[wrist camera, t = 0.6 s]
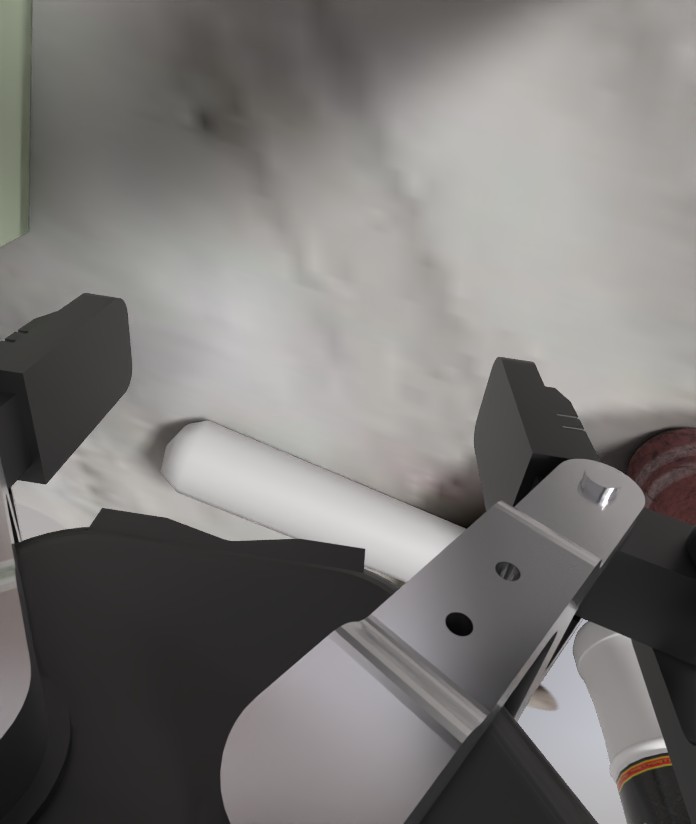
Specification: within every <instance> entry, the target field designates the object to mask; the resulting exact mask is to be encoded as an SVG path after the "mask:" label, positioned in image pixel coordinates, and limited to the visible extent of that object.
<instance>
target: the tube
mask: <svg viewBox="0 0 696 824" xmlns="http://www.w3.org/2000/svg"><path fill="white" fill-rule="evenodd" d="M160 473H161V474H162V475H163V476H164V477H165V478H166V480H167V481H168V482H169V483H170V484H171V485H172V487H173V488H174V489H175V490H176V491H177V492H178V493H181V494H183V495H186V496H188V497H191V498H193V499H196V500H198V501H201V502H203V503H206V504H209V505H211V506H214V507H216V508H219V509H221V510H224V511H226V512H229V513H231V514H234V515H236V516H239V517H241V518H244V519H246V520H249V521H252V522H254V523H257V524H259V525H262V526H264V527H267V528H269V529H272V530H274V531H277V532H279V533H282V534H284V535H287V536H290V537H292V538H295V539H305V540H312V541H318V542H325V543H331V544H338V545H344V546H351V547H357V548H363V549H365V561H364V566H365V567H368V568H370V569H373V570H376V571H378V572H381V573H383V574H386V575H388V576H391V577H393V578H396V579H398V580H401V581H403V582H408V581H409V580H410V579H411V578H412V577H413V576H414V575H415V574H417V573H418V572H419V571H420V570H421V569H422V568H423V567H424V566H426V565H427V564H428V563H429V562H430V561H431V560H432V559H433V558H435V557H436V556H437V555H438V554H439V553H440V552H441V551H442V550H444V549H445V548H446V547H447V546H448V545H449V544H450V543H451V542H453V541H454V540H455V539H456V538H457V537H458V536H459V535H461V534H462V533H463V532H464V531H465V530H466V528H463V527H461V526H458V525H456V524H454V523H451V522H449V521H447V520H444V519H442V518H439V517H437V516H435V515H432V514H430V513H427V512H425V511H423V510H420V509H418V508H416V507H413V506H411V505H408V504H406V503H404V502H401V501H399V500H397V499H394V498H392V497H389V496H387V495H385V494H382V493H380V492H377V491H375V490H373V489H370V488H368V487H366V486H363V485H361V484H358V483H356V482H354V481H351V480H349V479H347V478H344V477H342V476H339V475H337V474H335V473H332V472H330V471H327V470H325V469H323V468H320V467H318V466H316V465H313V464H311V463H308V462H306V461H304V460H301V459H299V458H297V457H294V456H292V455H289V454H287V453H285V452H282V451H280V450H277V449H275V448H273V447H270V446H268V445H266V444H263V443H261V442H258V441H256V440H254V439H251V438H249V437H247V436H244V435H242V434H239V433H237V432H235V431H232V430H230V429H227V428H225V427H223V426H220V425H218V424H216V423H213V422H211V421H208V420H207V421H202V422H196V423H191V424H188V425H186V426H184V427H183V428H182V430H181V431H180V432H179V433H178V434H177V435H176V436H175V437H174V438H173V439H172V440H171V441H170V442H169V444H168V445H167V446H166V450H165V454H164V459H163V463H162V468H161V472H160Z"/></svg>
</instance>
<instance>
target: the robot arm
mask: <svg viewBox="0 0 696 824" xmlns="http://www.w3.org/2000/svg"><path fill="white" fill-rule="evenodd" d="M131 375H132V357H131V346H130V335H129V324H128V313H127V307H126V304H125V302H124V301H123V300H122V299H121V298H115V297H108V296H102V295H95V294H89V293H84V294H82V295H80V296H79V297H78V298H76V299H75V300H73V301H72V302H70V303H69V304H68V305H66V306H65V307H63V308H62V309H60V310H59V311H57V312H54V313H51V314H48V315H45V316H42V317H39V318H36V319H34V320H32V321H31V322H29V323H28V324H26V325H25V326H23V327H22V328H20V329H19V330H18V332H14V333H13V334H12V335H10V336H9V337H7V338H6V339H5V341H1V342H0V824H598V823H597V821H596V820H595V819H594V818H593V816H592V815H591V814H590V813H589V811H588V810H587V809H586V808H585V806H584V805H583V804H582V803H581V802H580V800H579V799H578V798H577V797H576V795H575V794H574V793H573V792H572V790H571V789H570V788H569V786H568V785H567V784H566V783H565V781H564V780H563V779H562V778H561V776H560V775H559V774H558V773H557V771H556V770H555V769H554V768H553V766H552V765H551V764H550V763H549V762H548V760H547V759H546V758H545V756H544V755H543V754H542V753H541V752H540V750H539V749H538V748H537V747H536V745H535V744H534V743H533V742H532V740H531V739H530V738H529V737H528V735H527V734H526V733H525V732H524V730H523V729H522V728H521V727H520V725H519V724H518V723H517V721H518V719H519V718H520V716H521V714H522V713H523V711H524V709H525V707H526V706H527V704H528V702H529V701H530V699H531V697H532V696H533V694H534V692H535V691H536V689H537V688H538V686H539V685H540V683H541V682H542V680H543V679H544V677H545V676H546V674H547V673H548V671H549V670H550V668H551V667H552V665H553V664H554V662H555V661H556V659H557V658H558V656H559V655H560V653H561V652H562V650H563V649H564V647H565V646H566V644H567V643H568V641H569V640H570V638H571V637H572V635H573V634H574V632H575V631H576V629H577V628H578V626H579V625H580V623H581V622H582V620H583V619H585V620H588V621H590V622H593V623H595V624H597V625H600V626H602V627H604V628H607V629H609V630H612V631H614V632H616V633H619V634H621V635H623V636H626V637H628V638H631V641H632V645H633V648H634V651H635V654H636V657H637V660H638V663H639V666H640V669H641V672H642V675H643V678H644V681H645V684H646V687H647V690H648V694H649V697H650V700H651V703H652V706H653V709H654V712H655V715H656V718H657V721H658V724H659V727H660V730H661V733H662V736H663V739H664V742H665V745H666V748H667V751H668V754H669V757H670V760H671V763H672V766H673V769H674V772H675V775H676V778H677V781H678V784H679V787H680V791H681V794H682V797H683V800H684V803H685V806H686V809H687V812H688V815H689V818H690V821H691V824H696V525H695V526H694V525H691V524H689V523H686V522H683V521H680V520H677V519H674V518H672V517H669V516H666V515H663V514H660V513H658V512H655V511H652V510H650V509H648V508H646V507H644V505H645V496H644V494H643V492H642V490H641V489H640V487H639V486H638V485H637V484H636V483H635V482H634V481H633V480H632V479H631V478H630V477H628V476H627V475H625V474H624V473H622V472H621V471H619V470H617V469H615V468H613V467H611V466H609V465H606V464H603V463H601V462H600V460H599V458H598V456H597V454H596V452H595V450H594V448H593V446H592V444H591V442H590V440H589V438H588V436H587V434H586V432H585V431H583V430H584V428H583V426H582V424H581V422H580V420H579V419H577V418H578V416H577V414H576V412H575V410H574V408H573V406H572V404H571V402H570V401H569V400H568V399H567V398H566V397H564V396H563V395H562V394H561V393H560V392H559V391H558V390H556V389H555V388H552V387H545V386H544V384H543V381H542V379H541V377H540V374H539V372H538V370H537V368H536V365H535V363H534V362H530V361H523V360H517V359H510V358H504V357H498V358H497V359H496V360H495V362H494V364H493V367H492V370H491V373H490V377H489V380H488V383H487V387H486V390H485V394H484V397H483V400H482V404H481V407H480V410H479V414H478V417H477V421H476V426H475V432H474V448H475V454H476V459H477V465H478V470H479V476H480V481H481V486H482V492H483V497H484V503H485V508H486V512H485V513H484V514H483V515H482V516H481V517H480V518H479V519H477V520H476V521H475V522H474V523H473V524H472V525H471V526H470V527H468V528H467V529H466V530H465V531H464V532H463V533H462V534H461V535H459V536H458V537H457V538H456V539H455V540H454V541H453V542H451V543H450V544H449V545H448V546H447V547H446V548H445V549H444V550H442V551H441V552H440V553H439V554H438V555H437V556H436V557H435V558H433V559H432V560H431V561H430V562H429V563H428V564H427V565H426V566H424V567H423V568H422V569H421V570H420V571H419V572H418V573H417V574H415V575H414V576H413V577H412V578H411V579H410V580H409V581H408V582H406V583H405V584H404V585H403V586H402V587H401V588H400V587H398V586H397V585H395V584H394V583H392V582H391V581H389V580H387V579H385V578H383V577H381V576H379V575H377V574H375V573H373V572H371V571H368V570H365V569H364V561H365V549H363V548H357V547H351V546H344V545H338V544H331V543H325V542H318V541H312V540H305V539H282V540H255V541H228V540H224V539H221V538H218V537H216V536H213V535H210V534H208V533H205V532H203V531H200V530H197V529H195V528H192V527H189V526H187V525H184V524H181V523H179V522H176V521H173V520H171V519H168V518H163V517H157V516H150V515H144V514H138V513H131V512H125V511H118V510H112V509H105V508H102V509H101V511H100V512H99V514H98V515H97V517H96V518H95V520H94V521H93V522H92V524H91V525H90V527H82V528H74V529H66V530H60V531H56V532H51V533H46V534H43V535H39V536H36V537H33V538H30V539H27V540H24V541H23V539H22V534H21V529H20V524H19V519H18V514H17V509H16V504H15V499H14V495H13V491H12V488H11V486H12V485H13V484H14V483H15V482H16V481H17V480H21V481H27V482H34V483H40V484H47V483H48V482H49V480H50V479H51V478H52V477H53V476H54V475H55V473H56V472H57V471H58V470H59V469H60V468H61V466H62V465H63V464H64V463H65V462H66V461H67V460H68V458H69V457H70V456H71V455H72V454H73V453H74V451H75V450H76V449H77V448H78V447H79V446H80V444H81V443H82V442H83V441H84V440H85V439H86V437H87V436H88V435H89V434H90V433H91V432H92V430H93V429H94V428H95V427H96V426H97V425H98V424H99V422H100V421H101V420H102V419H103V418H104V417H105V415H106V414H107V413H108V412H109V411H110V410H111V408H112V407H113V406H114V405H115V404H116V403H117V401H118V400H119V399H120V398H121V397H122V396H123V394H124V393H125V392H126V390H127V389H128V386H129V384H130V380H131Z"/></svg>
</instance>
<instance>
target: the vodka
mask: <svg viewBox="0 0 696 824" xmlns="http://www.w3.org/2000/svg"><path fill="white" fill-rule="evenodd" d="M573 655H574V659H575V662H576V666H577V669H578V672H579V674H580V676H581V678H582V679H583V680H584V682H585V684H586V686H587V689H588V691H589V694H590V696H591V698H592V701H593V703H594V706H595V709H596V713H597V716H598V719H599V722H600V726H601V728H602V732H603V736H604V739H605V743H606V747H607V752H608V756H609V761H610V774H611V777H612V778H613V780H614V782H615V783H616V784H617V788H618V791H619V795H620V799H621V803H622V806H623V810H624V814H625V818H626V821H627V824H691V821H690V818H689V815H688V812H687V809H686V806H685V803H684V800H683V797H682V794H681V791H680V787H679V784H678V781H677V778H676V775H675V772H674V769H673V766H672V763H671V760H670V757H669V754H668V751H667V748H666V745H665V742H664V739H663V736H662V733H661V730H660V727H659V724H658V721H657V718H656V715H655V712H654V709H653V706H652V703H651V700H650V697H649V694H648V690H647V687H646V684H645V681H644V678H643V675H642V672H641V669H640V666H639V663H638V660H637V657H636V654H635V651H634V648H633V645H632V641H631V638H628V637H626V636H623V635H621V634H619V633H616V632H614V631H612V630H609V629H607V628H604V627H602V626H600V625H597V624H595V623H593V622H590V621H588V622H587V623H585V624H584V625H583V626H582V627H581V628H580V630H579V631H578V633H577V635H576V637H575V641H574V645H573Z"/></svg>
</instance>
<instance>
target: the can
mask: <svg viewBox="0 0 696 824" xmlns="http://www.w3.org/2000/svg"><path fill="white" fill-rule="evenodd" d="M626 475H627V476H628V477H630V478H631V479H632V480H633V481H634V482H635V483H636V484H637V485H638V486H639V487H640V489H641V490H642V492H643V494H644V496H645V505H644V507H646V508H648V509H650V510H652V511H655V512H658V513H660V514H663V515H666V516H669V517H672V518H674V519H677V520H680V521H683V522H686V523H689V524H691V525H694V526H695V525H696V428H678V429H673V430H669V431H665V432H662V433H660V434H658V435H656V436H654V437H652V438H650V439H649V440H647V441H646V442H645V443H644V444H642V445H641V446H640V447H639V448H638V449H637V451H636V452H635V453H634V455H633V456H632V458H631V460H630V462H629V465H628V469H627V472H626Z"/></svg>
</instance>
